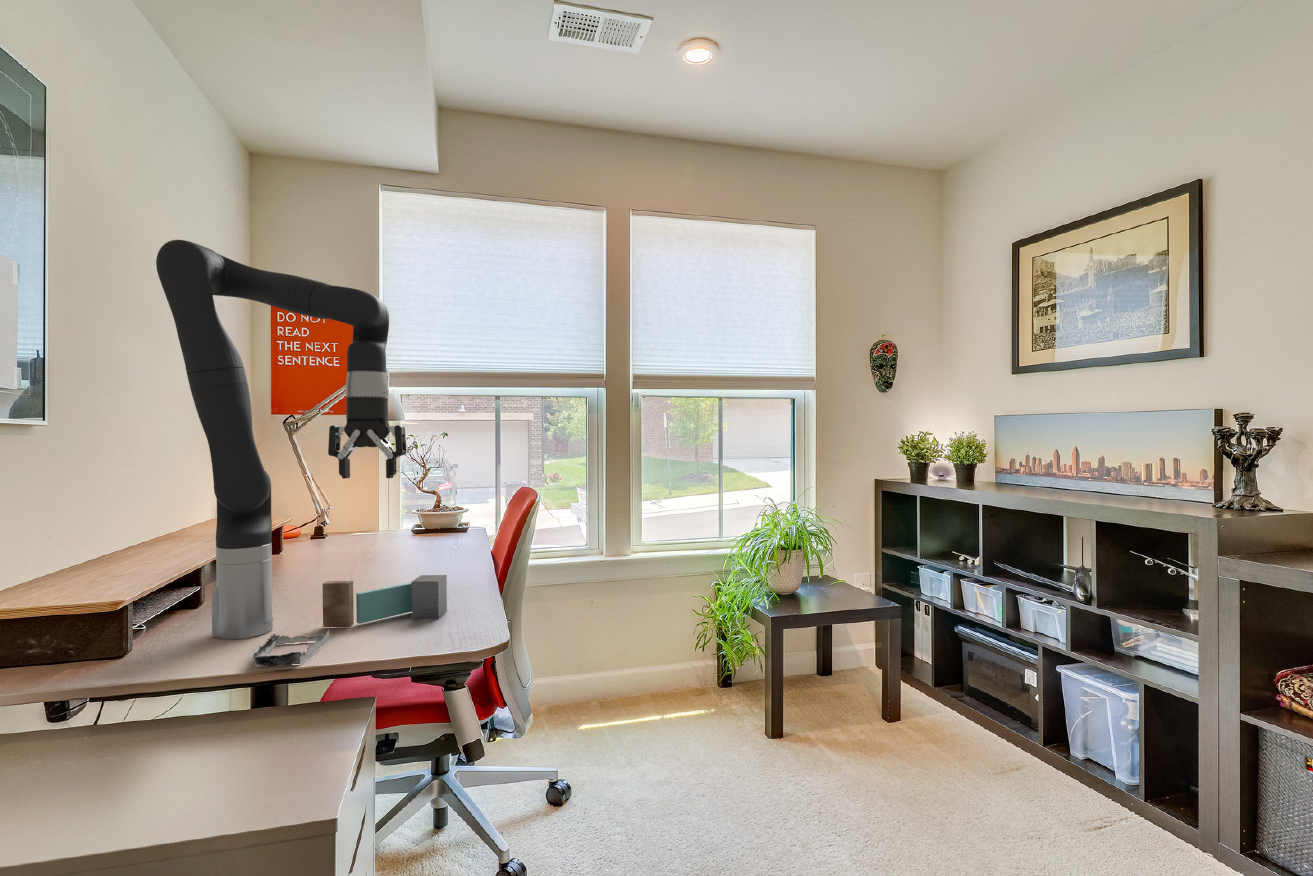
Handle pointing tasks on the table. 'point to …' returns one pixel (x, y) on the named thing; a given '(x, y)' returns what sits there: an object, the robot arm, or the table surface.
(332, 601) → the wall frame
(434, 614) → the block
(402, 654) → the table surface
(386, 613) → the door
